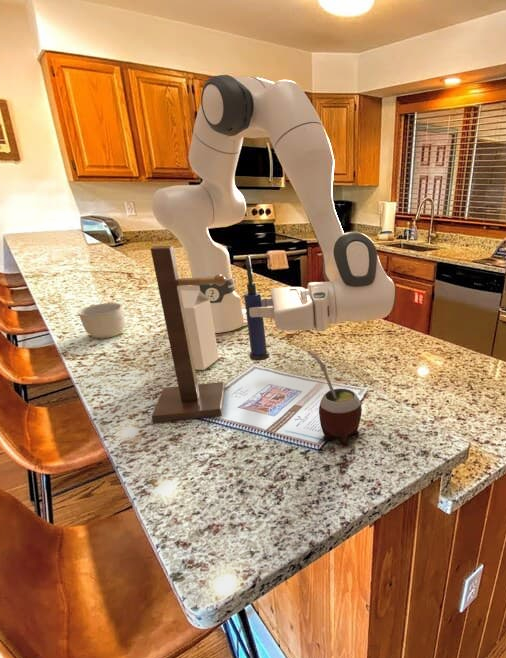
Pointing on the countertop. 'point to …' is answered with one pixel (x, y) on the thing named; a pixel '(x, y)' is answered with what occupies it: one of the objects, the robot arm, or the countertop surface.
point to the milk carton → (199, 326)
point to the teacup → (103, 319)
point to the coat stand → (182, 348)
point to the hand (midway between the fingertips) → (249, 308)
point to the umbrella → (255, 319)
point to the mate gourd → (338, 411)
